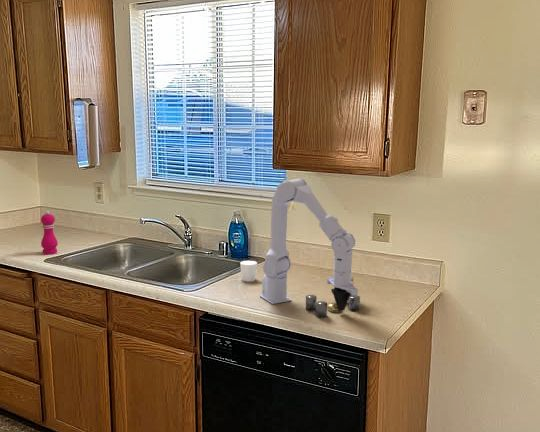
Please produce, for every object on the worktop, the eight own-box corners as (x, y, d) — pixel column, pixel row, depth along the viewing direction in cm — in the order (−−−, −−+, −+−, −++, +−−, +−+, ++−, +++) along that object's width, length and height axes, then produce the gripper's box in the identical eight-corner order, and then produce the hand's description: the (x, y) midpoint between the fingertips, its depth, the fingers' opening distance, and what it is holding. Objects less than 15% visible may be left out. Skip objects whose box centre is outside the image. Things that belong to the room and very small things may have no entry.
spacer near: (303, 308, 187) (303, 295, 187) (312, 306, 189) (312, 294, 188) (309, 311, 184) (309, 298, 184) (318, 309, 186) (318, 297, 185)
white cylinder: (236, 279, 220) (236, 262, 218) (249, 275, 224) (249, 259, 223) (247, 283, 215) (247, 265, 213) (260, 279, 219) (260, 262, 218)
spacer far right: (313, 315, 181) (314, 302, 180) (322, 313, 183) (323, 300, 182) (319, 318, 178) (320, 305, 177) (329, 316, 180) (329, 303, 179)
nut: (324, 309, 187) (324, 303, 187) (334, 307, 189) (335, 301, 189) (331, 313, 183) (332, 307, 183) (342, 311, 186) (342, 305, 185)
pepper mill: (42, 255, 252) (39, 212, 248) (40, 252, 258) (37, 210, 254) (59, 253, 255) (56, 211, 252) (57, 250, 262) (54, 209, 258)
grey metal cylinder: (346, 308, 188) (347, 296, 187) (355, 306, 189) (355, 294, 189) (353, 311, 185) (353, 299, 184) (361, 310, 186) (362, 297, 185)
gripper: (366, 274, 176) (364, 314, 178) (339, 263, 188) (338, 301, 191) (348, 277, 172) (346, 318, 175) (322, 266, 185) (321, 304, 187)
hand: (341, 309), depth 182 cm, fingers closed
